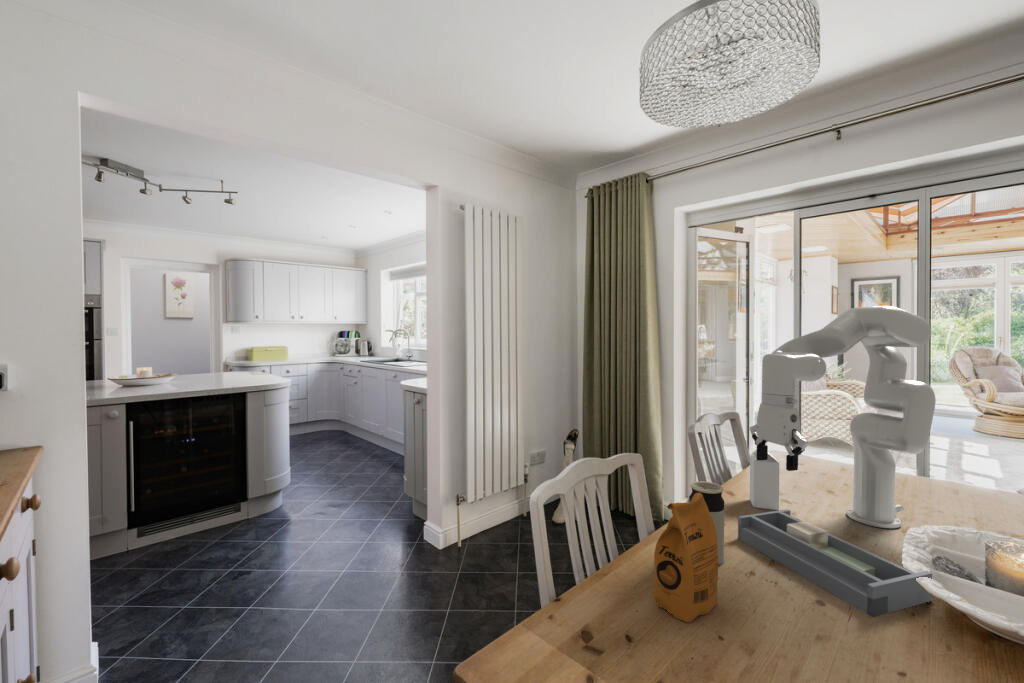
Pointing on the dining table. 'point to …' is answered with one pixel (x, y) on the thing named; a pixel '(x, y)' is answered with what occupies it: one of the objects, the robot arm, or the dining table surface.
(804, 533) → the block
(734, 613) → the dining table surface
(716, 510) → the travel mug
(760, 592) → the dining table surface
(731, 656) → the dining table surface
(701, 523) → the coffee package
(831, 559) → the box
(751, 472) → the milk carton
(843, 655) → the dining table surface
